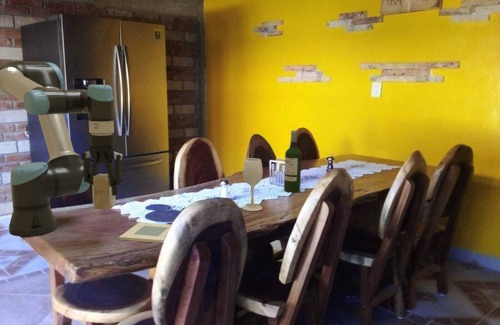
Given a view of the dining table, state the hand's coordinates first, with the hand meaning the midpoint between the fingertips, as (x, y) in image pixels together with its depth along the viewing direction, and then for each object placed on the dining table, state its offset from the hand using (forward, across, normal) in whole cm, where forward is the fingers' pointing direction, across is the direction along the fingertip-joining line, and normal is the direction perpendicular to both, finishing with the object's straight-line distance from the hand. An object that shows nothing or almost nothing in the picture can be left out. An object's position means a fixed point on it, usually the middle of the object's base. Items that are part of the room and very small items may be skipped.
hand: (104, 203), depth 144 cm
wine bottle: (+13, +56, +83) cm, 100 cm away
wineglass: (+12, +42, +48) cm, 64 cm away
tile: (+12, +13, +9) cm, 20 cm away
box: (+1, 0, 0) cm, 1 cm away
